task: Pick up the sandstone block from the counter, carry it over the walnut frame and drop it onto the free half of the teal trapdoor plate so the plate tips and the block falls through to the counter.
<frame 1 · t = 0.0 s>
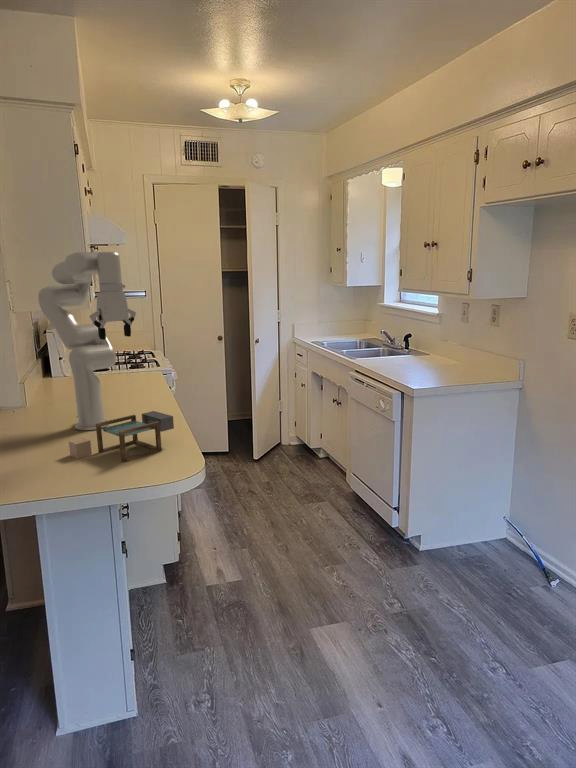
hand: (115, 337, 195), 37 cm above the worktop, tool pointing down, fingers open, 9 cm apart
stone: (81, 455, 184), on the worktop
trapdoor: (138, 425, 188), point 8 cm above the worktop, hinge at 0.0°
frame: (131, 450, 187), on the worktop
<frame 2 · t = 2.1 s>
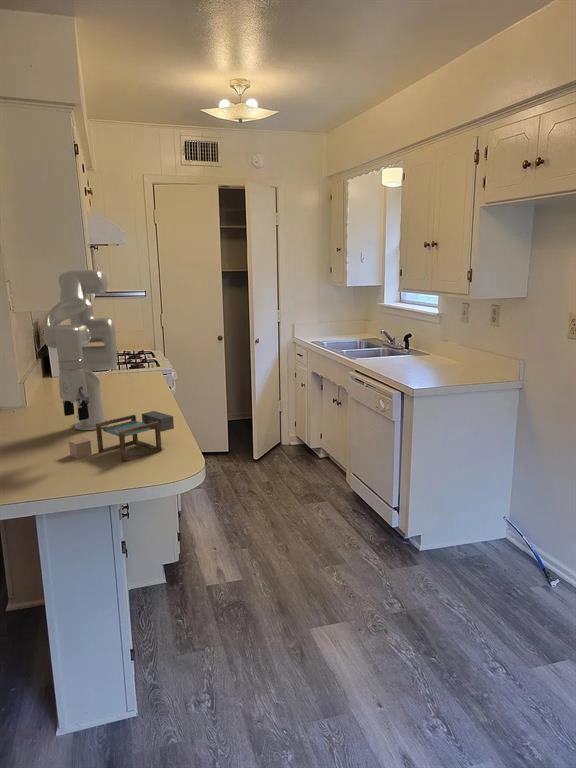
hand: (76, 417, 181), 13 cm above the worktop, tool pointing down, fingers open, 9 cm apart
nothing on the worktop moved.
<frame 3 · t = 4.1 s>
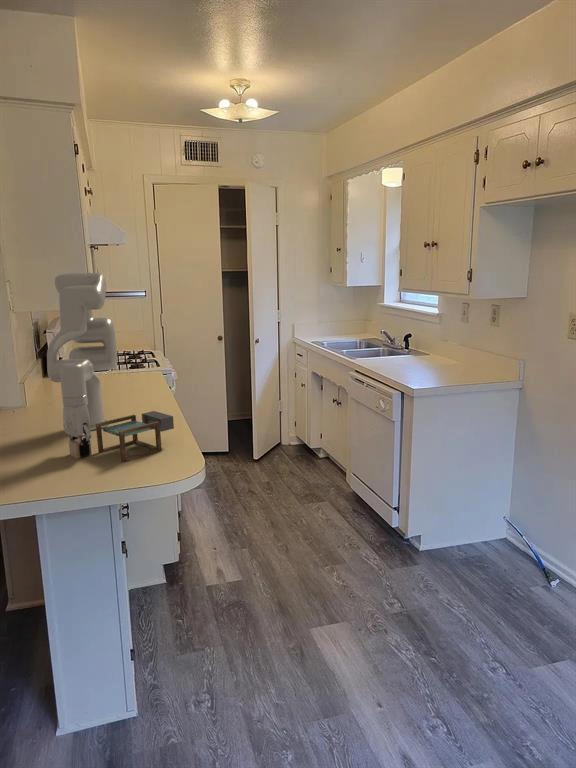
hand: (80, 453, 184), 1 cm above the worktop, tool pointing down, fingers closed on stone, 5 cm apart
stone: (81, 454, 184), on the worktop, touching gripper
everything else where it was.
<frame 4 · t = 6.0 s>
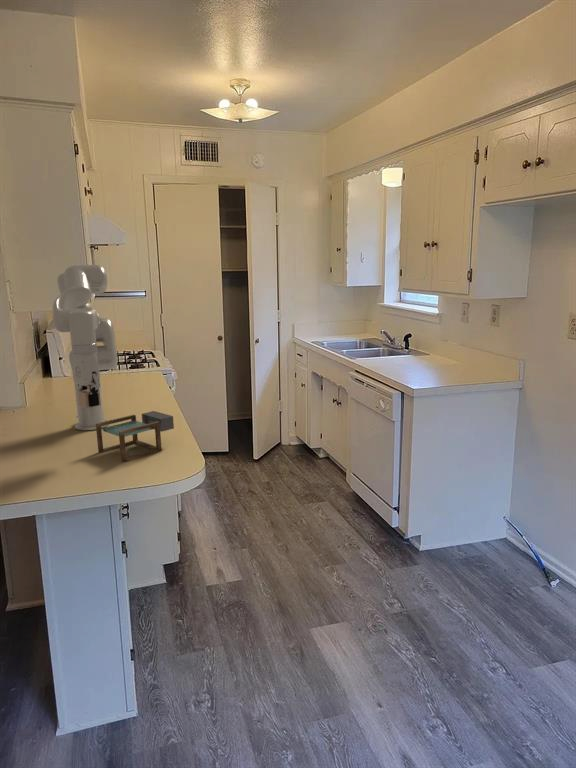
hand: (90, 403, 181), 17 cm above the worktop, tool pointing down, fingers closed on stone, 5 cm apart
stone: (90, 405, 181), point 17 cm above the worktop, touching gripper
everything else where it was.
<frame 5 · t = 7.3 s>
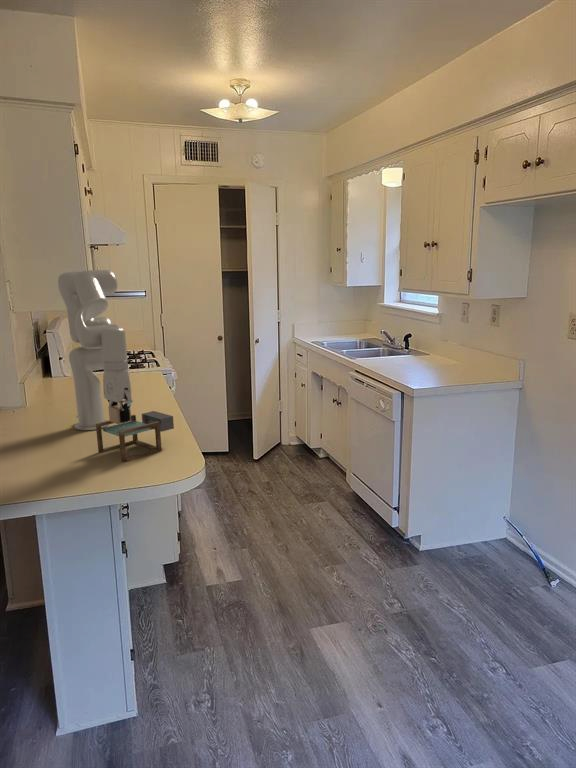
hand: (120, 419, 183), 12 cm above the worktop, tool pointing down, fingers closed on stone, 5 cm apart
stone: (120, 421, 183), point 11 cm above the worktop, touching gripper
everything else where it was.
when the fingers open (12 cm above the worktop, at t = 7.8 s): stone drops 8 cm and tips over, resting on trapdoor.
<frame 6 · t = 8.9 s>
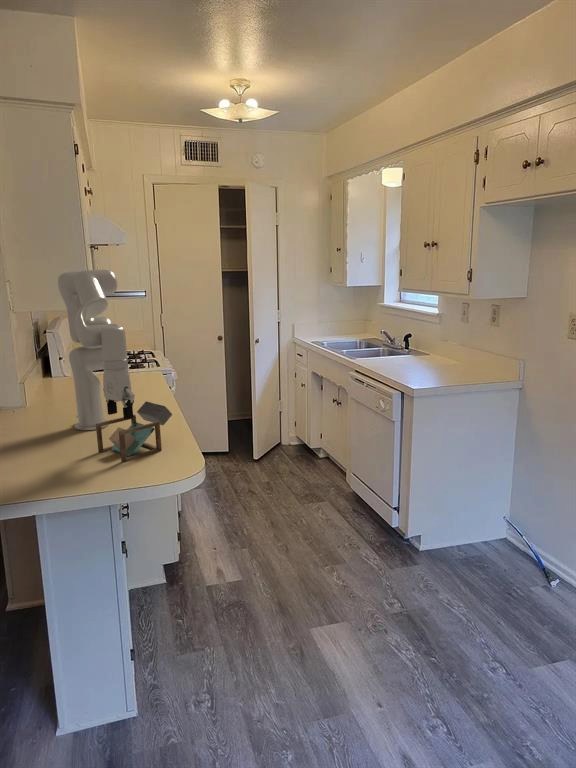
hand: (120, 416, 182), 13 cm above the worktop, tool pointing down, fingers open, 9 cm apart
stone: (126, 443, 185), point 3 cm above the worktop, tilted 37°, touching trapdoor
trapdoor: (140, 429, 188), point 6 cm above the worktop, hinge at -37.5°, touching stone
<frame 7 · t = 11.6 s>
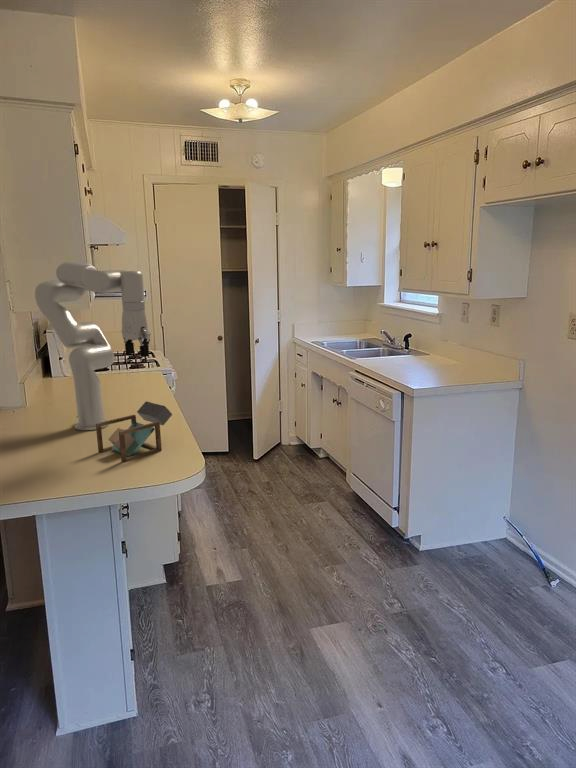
hand: (137, 355, 197), 30 cm above the worktop, tool pointing down, fingers open, 9 cm apart
nothing on the worktop moved.
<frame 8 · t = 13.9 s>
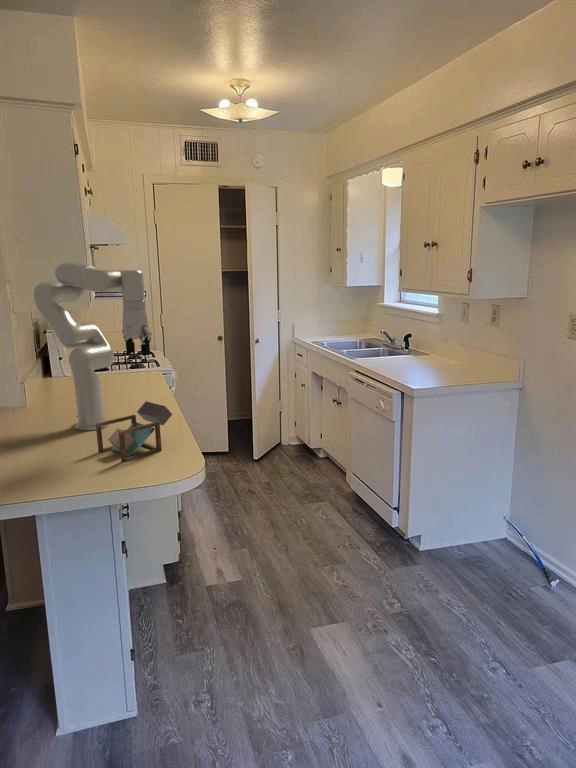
hand: (138, 354, 198), 30 cm above the worktop, tool pointing down, fingers open, 9 cm apart
nothing on the worktop moved.
at the end: stone inside the target area (3.1 cm from its centre), point 2.6 cm above the worktop; the gripper is holding nothing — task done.
